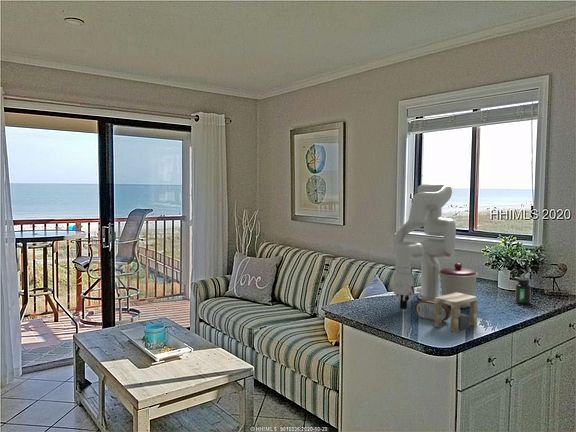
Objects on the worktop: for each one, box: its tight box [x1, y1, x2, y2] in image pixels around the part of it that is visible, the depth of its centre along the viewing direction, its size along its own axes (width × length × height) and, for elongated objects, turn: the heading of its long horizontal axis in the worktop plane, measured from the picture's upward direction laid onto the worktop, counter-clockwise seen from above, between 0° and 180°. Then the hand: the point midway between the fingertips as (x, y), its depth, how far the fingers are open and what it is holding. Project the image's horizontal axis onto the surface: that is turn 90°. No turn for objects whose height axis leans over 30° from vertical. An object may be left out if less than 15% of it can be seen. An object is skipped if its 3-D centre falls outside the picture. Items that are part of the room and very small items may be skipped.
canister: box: [439, 262, 479, 309], centre depth 221 cm, size 18×18×21 cm
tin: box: [415, 299, 451, 322], centre depth 199 cm, size 15×3×8 cm, turn 48°
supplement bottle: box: [514, 278, 532, 306], centre depth 224 cm, size 7×7×12 cm
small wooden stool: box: [433, 292, 478, 333], centre depth 189 cm, size 10×15×12 cm, turn 125°
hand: (403, 308), depth 212 cm, fingers closed
